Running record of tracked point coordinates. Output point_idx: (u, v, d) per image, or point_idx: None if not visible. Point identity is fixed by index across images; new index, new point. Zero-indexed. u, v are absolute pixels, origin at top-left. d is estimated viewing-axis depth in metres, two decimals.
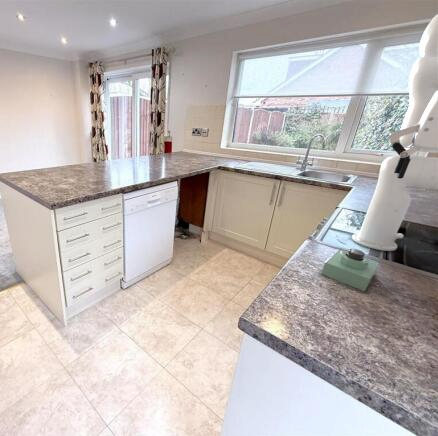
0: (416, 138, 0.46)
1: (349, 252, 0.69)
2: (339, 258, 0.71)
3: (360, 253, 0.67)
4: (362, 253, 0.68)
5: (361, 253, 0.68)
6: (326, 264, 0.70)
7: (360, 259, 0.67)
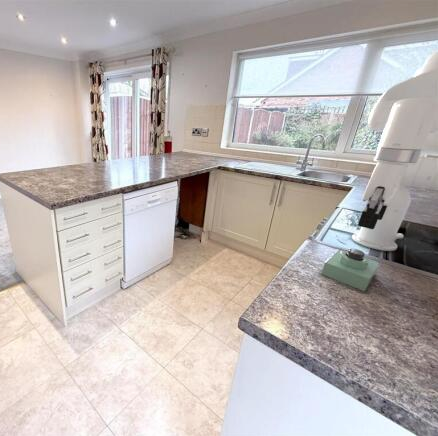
0: (386, 200, 0.57)
1: (349, 252, 0.69)
2: (339, 258, 0.71)
3: (360, 253, 0.67)
4: (362, 253, 0.68)
5: (361, 253, 0.68)
6: (326, 264, 0.70)
7: (360, 259, 0.67)
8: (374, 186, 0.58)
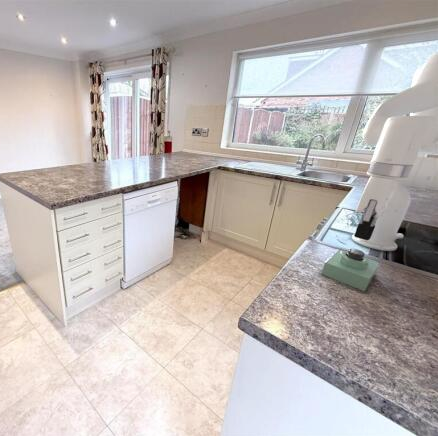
0: (378, 212, 0.59)
1: (349, 252, 0.69)
2: (339, 258, 0.71)
3: (360, 253, 0.67)
4: (362, 253, 0.68)
5: (361, 253, 0.68)
6: (326, 264, 0.70)
7: (360, 259, 0.67)
8: (367, 199, 0.60)
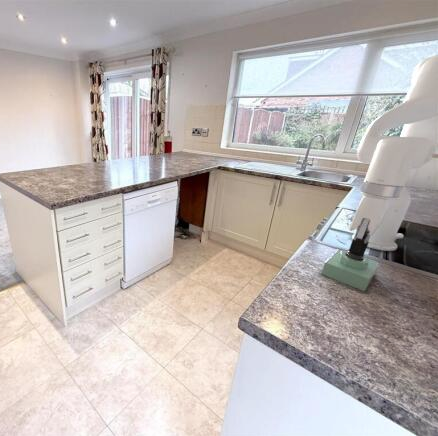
0: (371, 231, 0.61)
1: (348, 253, 0.69)
2: (339, 258, 0.71)
3: None
4: None
5: None
6: (326, 264, 0.70)
7: (359, 260, 0.68)
8: (360, 217, 0.62)
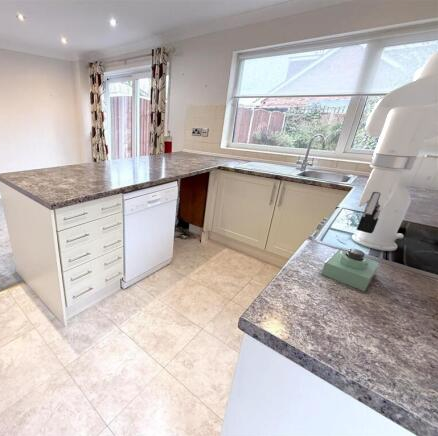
0: (382, 205, 0.59)
1: (349, 252, 0.69)
2: (339, 258, 0.71)
3: (360, 253, 0.67)
4: (362, 253, 0.68)
5: (361, 253, 0.68)
6: (326, 264, 0.70)
7: (360, 259, 0.67)
8: (370, 192, 0.60)
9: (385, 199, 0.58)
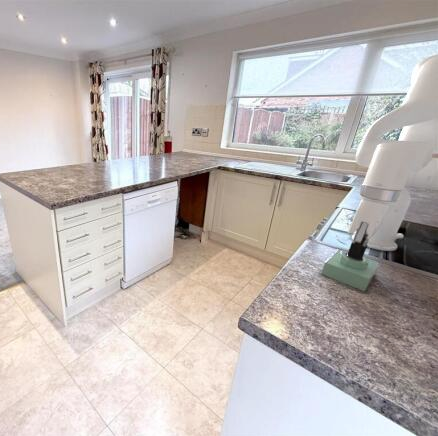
0: (370, 234, 0.62)
1: (347, 256, 0.69)
2: (339, 258, 0.71)
3: None
4: None
5: None
6: (326, 264, 0.70)
7: None
8: (359, 221, 0.62)
9: (373, 229, 0.61)
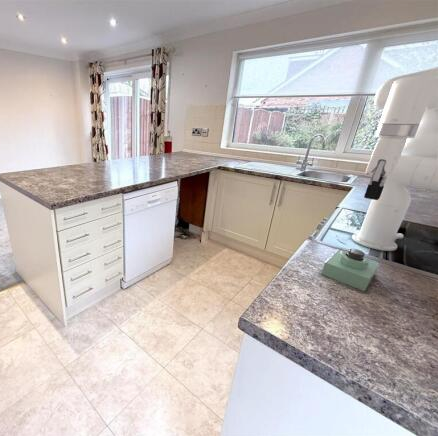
0: (387, 171, 0.63)
1: (349, 252, 0.69)
2: (339, 258, 0.71)
3: (360, 253, 0.67)
4: (362, 253, 0.68)
5: (361, 253, 0.68)
6: (326, 264, 0.70)
7: (360, 259, 0.67)
8: (376, 159, 0.64)
9: (390, 165, 0.62)
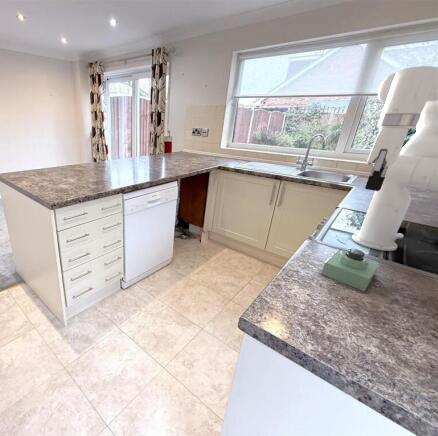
0: (389, 161, 0.64)
1: (349, 252, 0.69)
2: (339, 258, 0.71)
3: (360, 253, 0.67)
4: (362, 253, 0.68)
5: (361, 253, 0.68)
6: (326, 264, 0.70)
7: (360, 259, 0.67)
8: (378, 149, 0.65)
9: (392, 155, 0.63)
